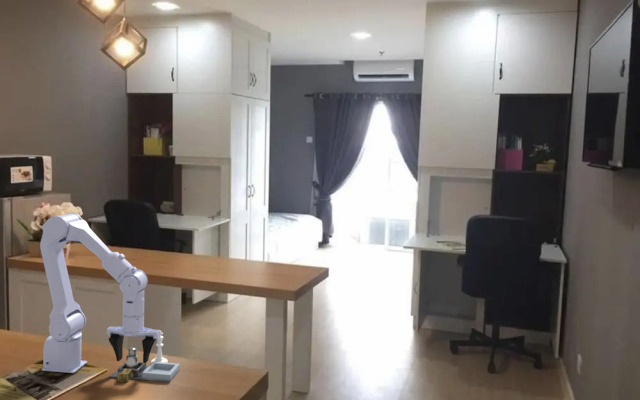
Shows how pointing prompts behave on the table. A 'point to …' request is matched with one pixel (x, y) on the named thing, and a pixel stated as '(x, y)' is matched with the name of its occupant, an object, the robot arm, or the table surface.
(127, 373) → the tan stepped block
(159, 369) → the tray
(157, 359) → the chess piece
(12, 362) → the table surface
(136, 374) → the socket
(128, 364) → the stepped metal cylinder
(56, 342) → the robot arm
